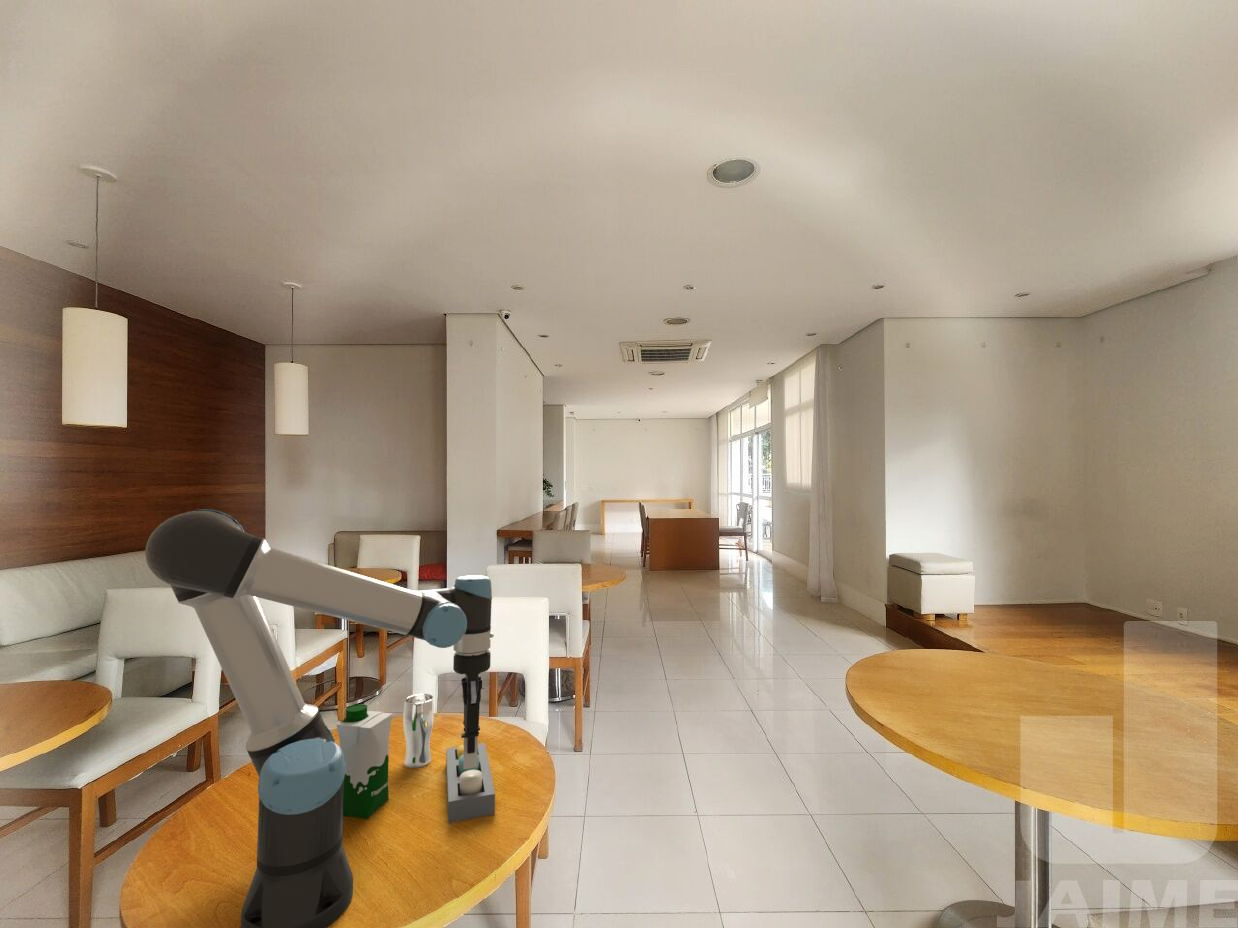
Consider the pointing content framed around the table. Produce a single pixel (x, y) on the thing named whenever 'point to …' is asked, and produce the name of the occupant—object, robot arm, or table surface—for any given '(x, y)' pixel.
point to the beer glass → (418, 729)
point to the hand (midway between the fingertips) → (470, 766)
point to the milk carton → (365, 760)
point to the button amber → (460, 751)
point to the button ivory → (470, 782)
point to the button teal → (461, 769)
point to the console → (470, 803)
